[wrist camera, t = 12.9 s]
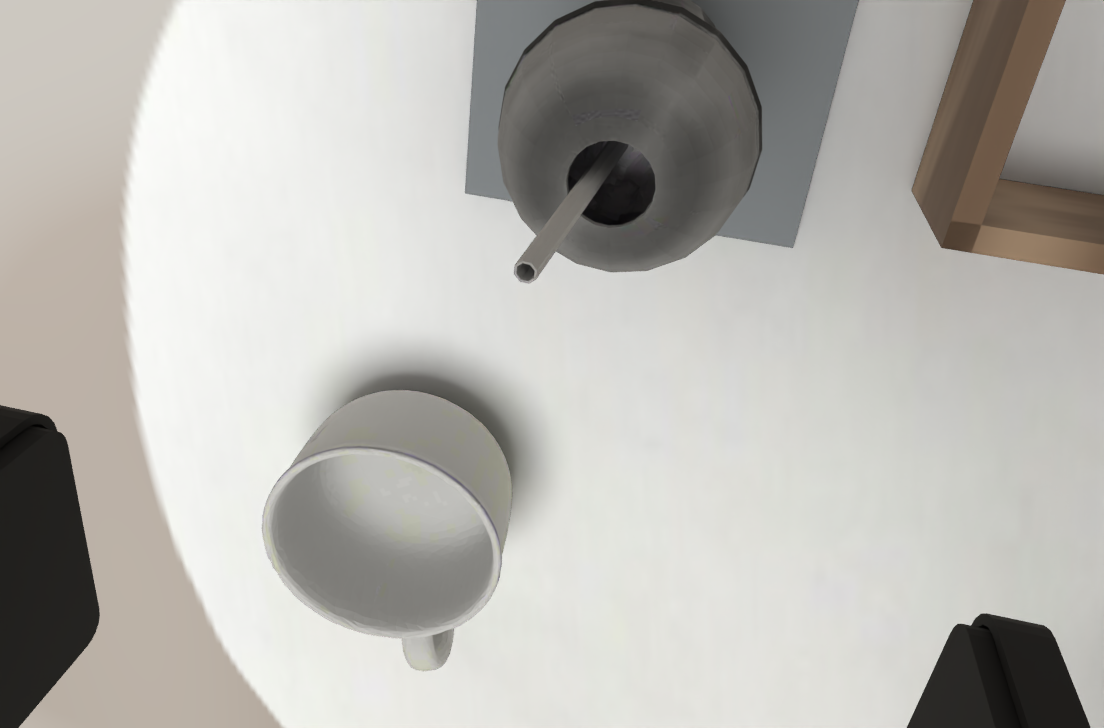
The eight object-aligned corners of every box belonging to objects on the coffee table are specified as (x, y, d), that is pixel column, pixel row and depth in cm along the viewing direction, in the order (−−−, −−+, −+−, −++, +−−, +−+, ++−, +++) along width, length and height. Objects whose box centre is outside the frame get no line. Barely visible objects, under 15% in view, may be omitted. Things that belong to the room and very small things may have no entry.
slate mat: (892, -136, 31) (894, -136, 30) (792, 243, 38) (793, 248, 38) (491, -187, 32) (488, -187, 32) (467, 189, 39) (464, 193, 39)
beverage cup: (770, 124, 35) (802, 391, 18) (591, 165, 37) (468, 439, 20) (736, -76, 32) (736, 21, 15) (542, -19, 34) (348, 122, 17)
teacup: (316, 351, 45) (241, 442, 38) (531, 371, 43) (494, 469, 36) (346, 564, 52) (288, 674, 45) (533, 588, 50) (502, 705, 43)
